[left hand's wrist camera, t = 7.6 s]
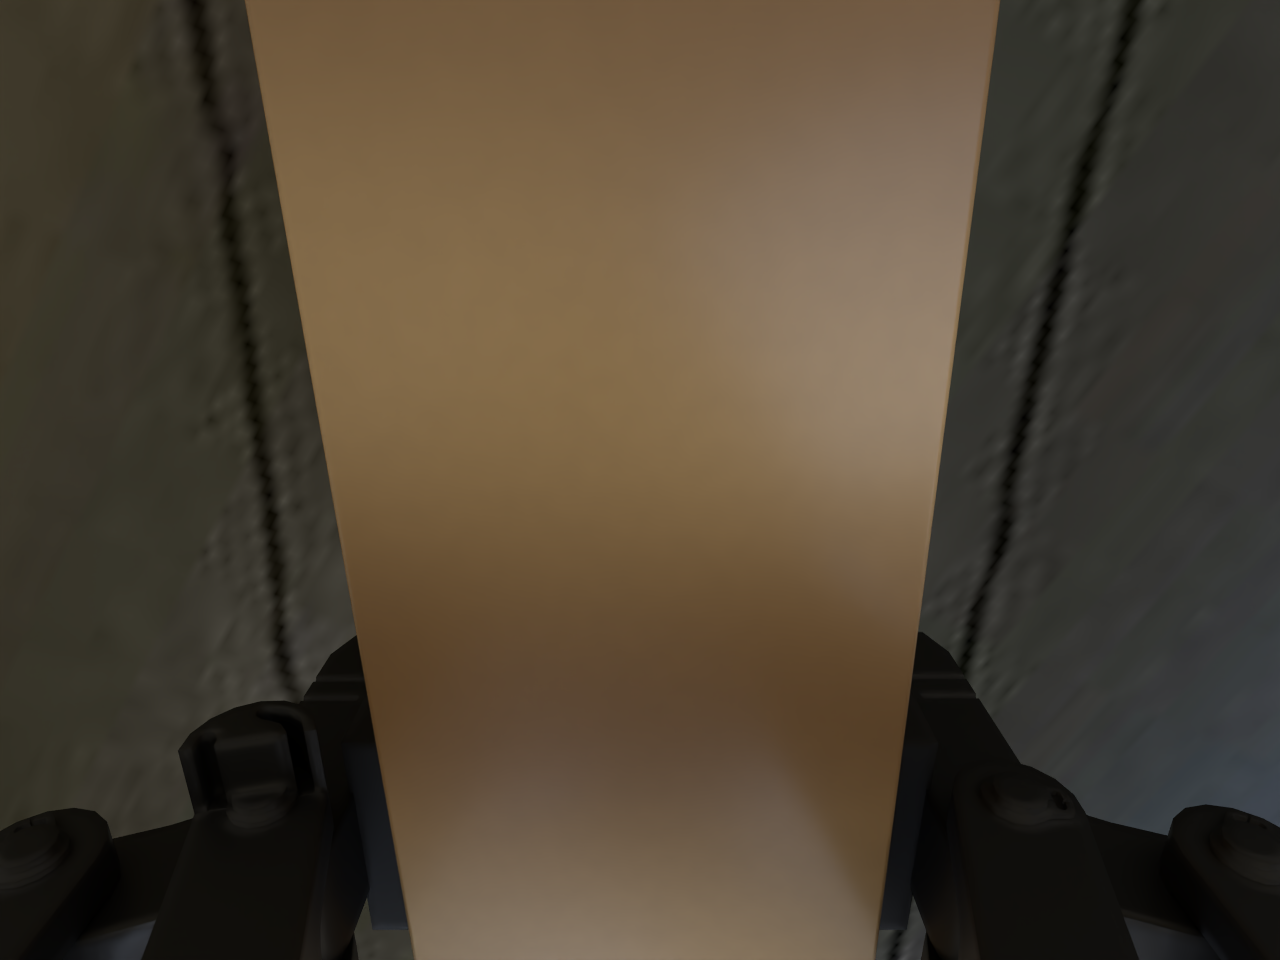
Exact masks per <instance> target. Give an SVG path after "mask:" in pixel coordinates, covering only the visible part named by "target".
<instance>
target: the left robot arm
mask: <svg viewBox="0 0 1280 960" xmlns="http://www.w3.org/2000/svg"><path fill="white" fill-rule="evenodd" d="M178 753H179V756H180V760H181V764H182V768H183V772H184V775H185V779H186V783H187V787H188V790H189V794H190V798H191V802H192V805H193V809H194V813H195V814H194V817H193V818H192V819H189V820H186V821H183V822H180V823H176V824H173V825H170V826H165V827H161V828H157V829H153V830H148V831H144V832H140V833H136V834H131V835H127V836H123V837H118V838H114V839H112V836H111V833H110V830H109V827H108V824H107V821H106V820H104V819H103V818H102V817H101V816H100V815H99V814H98V813H96V812H95V811H90V810H84V809H78V808H70V809H62V810H55V811H48V812H45V813H42V814H39V815H36V816H33V817H30V818H27V819H24V820H21V821H19V822H16V823H14V824H13V825H11V826H9V827H7V828H5V829H3V830H2V831H0V960H358V953H357V946H356V941H355V935H354V930H355V927H356V925H357V922H358V919H359V917H360V914H361V911H362V909H363V906H364V903H365V901H366V898H367V899H368V905H369V911H370V916H371V922H372V928H373V930H408V929H409V928H408V922H407V917H406V911H405V905H404V900H403V894H402V888H401V883H400V877H399V871H398V866H397V860H396V854H395V849H394V843H393V837H392V832H391V826H390V820H389V815H388V809H387V803H386V798H385V792H384V786H383V781H382V775H381V769H380V764H379V758H378V752H377V747H376V741H375V735H374V730H373V724H372V718H371V713H370V707H369V701H368V696H367V690H366V684H365V679H364V673H363V667H362V662H361V656H360V650H359V645H358V639H357V635H356V636H355V637H353V638H352V639H351V640H349V641H348V642H347V643H345V644H344V645H343V646H341V647H340V648H339V649H337V650H336V651H335V652H333V653H332V654H331V655H330V656H329V658H328V660H327V661H326V663H325V664H324V666H323V667H322V669H321V671H320V672H319V674H318V675H317V677H316V682H313V683H312V685H311V686H310V688H309V689H308V691H307V692H306V694H305V696H304V701H301V702H300V703H299V704H295V703H291V702H287V701H260V702H256V703H252V704H248V705H244V706H240V707H236V708H233V709H231V710H229V711H227V712H224V713H222V714H220V715H218V716H216V717H213V718H211V719H210V720H208V721H207V722H205V723H204V724H203V725H201V726H200V727H199V728H197V729H196V730H195V731H193V732H192V733H191V734H190V735H189V736H188V738H187V739H186V740H185V742H184V743H183V744H182V746H181V747H180V749H179V750H178ZM912 895H913V896H914V899H915V902H916V904H917V907H918V909H919V912H920V915H921V917H922V920H923V923H924V925H925V928H926V935H925V941H924V946H923V952H922V957H921V960H1280V827H1278V826H1276V825H1274V824H1272V823H1270V822H1269V821H1267V820H1265V819H1263V818H1260V817H1257V816H1254V815H1251V814H1248V813H1246V812H1243V811H1240V810H1237V809H1234V808H1228V807H1221V806H1213V805H1200V806H1194V807H1188V808H1185V809H1183V810H1182V811H1181V812H1180V813H1179V814H1178V815H1177V816H1175V817H1174V818H1173V821H1172V824H1171V827H1170V830H1169V833H1168V836H1167V835H1162V834H1158V833H1154V832H1149V831H1145V830H1141V829H1137V828H1132V827H1128V826H1124V825H1119V824H1115V823H1111V822H1107V821H1104V820H1101V819H1097V818H1094V817H1091V816H1088V815H1086V813H1085V811H1084V810H1083V808H1082V807H1081V805H1080V804H1079V802H1078V800H1077V799H1076V797H1075V796H1074V795H1073V794H1072V793H1071V792H1070V791H1069V790H1068V789H1066V788H1065V787H1064V786H1063V785H1062V784H1060V783H1059V782H1058V781H1057V780H1056V779H1054V778H1052V777H1050V776H1048V775H1046V774H1044V773H1042V772H1040V771H1039V770H1037V769H1035V768H1033V767H1030V766H1026V765H1023V764H1021V763H1020V762H1019V760H1018V759H1017V757H1016V756H1015V754H1014V753H1013V751H1012V749H1011V748H1010V746H1009V745H1008V743H1007V742H1006V740H1005V739H1004V737H1003V735H1002V734H1001V732H1000V731H999V729H998V728H997V726H996V725H995V723H994V721H993V720H992V718H991V717H990V715H989V714H988V712H987V711H986V709H985V707H984V706H983V704H982V703H981V701H980V700H979V699H976V693H975V692H974V690H973V689H972V687H971V686H970V684H969V683H968V681H967V679H964V677H963V673H962V672H961V670H960V669H959V667H958V665H957V664H956V662H955V661H954V659H953V658H952V656H951V655H950V653H949V652H948V651H947V650H946V649H944V648H943V647H942V646H940V645H939V644H937V643H936V642H935V641H933V640H932V639H931V638H929V637H928V636H927V635H925V634H924V633H923V632H918V635H917V643H916V650H915V658H914V666H913V673H912V681H911V689H910V696H909V704H908V712H907V719H906V727H905V735H904V742H903V750H902V758H901V765H900V773H899V781H898V788H897V796H896V804H895V812H894V819H893V827H892V835H891V842H890V850H889V858H888V865H887V873H886V881H885V888H884V896H883V904H882V911H881V919H880V927H879V930H907V924H908V918H909V913H910V907H911V901H912Z"/></svg>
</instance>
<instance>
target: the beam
mask: <svg viewBox="0 0 1280 960" xmlns="http://www.w3.org/2000/svg"><path fill="white" fill-rule="evenodd" d="M245 4H246V10H247V16H248V21H249V27H250V33H251V38H252V44H253V50H254V55H255V61H256V67H257V72H258V78H259V84H260V89H261V95H262V101H263V106H264V112H265V118H266V123H267V129H268V135H269V140H270V146H271V152H272V157H273V163H274V169H275V174H276V180H277V186H278V191H279V197H280V203H281V208H282V214H283V220H284V225H285V231H286V237H287V242H288V248H289V254H290V259H291V265H292V271H293V276H294V282H295V288H296V293H297V299H298V305H299V310H300V316H301V322H302V327H303V333H304V339H305V344H306V350H307V356H308V361H309V367H310V373H311V378H312V384H313V390H314V395H315V401H316V407H317V412H318V418H319V424H320V429H321V435H322V441H323V446H324V452H325V458H326V463H327V469H328V475H329V480H330V486H331V492H332V497H333V503H334V509H335V514H336V520H337V526H338V531H339V537H340V543H341V548H342V554H343V560H344V565H345V571H346V577H347V582H348V588H349V594H350V599H351V605H352V611H353V616H354V622H355V628H356V633H357V639H358V645H359V650H360V656H361V662H362V667H363V673H364V679H365V684H366V690H367V696H368V701H369V707H370V713H371V718H372V724H373V730H374V735H375V741H376V747H377V752H378V758H379V764H380V769H381V775H382V781H383V786H384V792H385V798H386V803H387V809H388V815H389V820H390V826H391V832H392V837H393V843H394V849H395V854H396V860H397V866H398V871H399V877H400V883H401V888H402V894H403V900H404V905H405V911H406V917H407V922H408V928H409V934H410V939H411V945H412V951H413V956H414V960H875V957H876V950H877V942H878V934H879V927H880V919H881V911H882V904H883V896H884V888H885V881H886V873H887V865H888V858H889V850H890V842H891V835H892V827H893V819H894V812H895V804H896V796H897V788H898V781H899V773H900V765H901V758H902V750H903V742H904V735H905V727H906V719H907V712H908V704H909V696H910V689H911V681H912V673H913V666H914V658H915V650H916V643H917V635H918V627H919V620H920V612H921V604H922V597H923V589H924V581H925V574H926V566H927V558H928V551H929V543H930V535H931V528H932V520H933V512H934V504H935V497H936V489H937V481H938V474H939V466H940V458H941V451H942V443H943V435H944V428H945V420H946V412H947V405H948V397H949V389H950V382H951V374H952V366H953V359H954V351H955V343H956V336H957V328H958V320H959V313H960V305H961V297H962V290H963V282H964V274H965V267H966V259H967V251H968V243H969V236H970V228H971V220H972V213H973V205H974V197H975V190H976V182H977V174H978V167H979V159H980V151H981V144H982V136H983V128H984V121H985V113H986V105H987V98H988V90H989V82H990V75H991V67H992V59H993V52H994V44H995V36H996V29H997V21H998V13H999V6H1000V0H245Z"/></svg>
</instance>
